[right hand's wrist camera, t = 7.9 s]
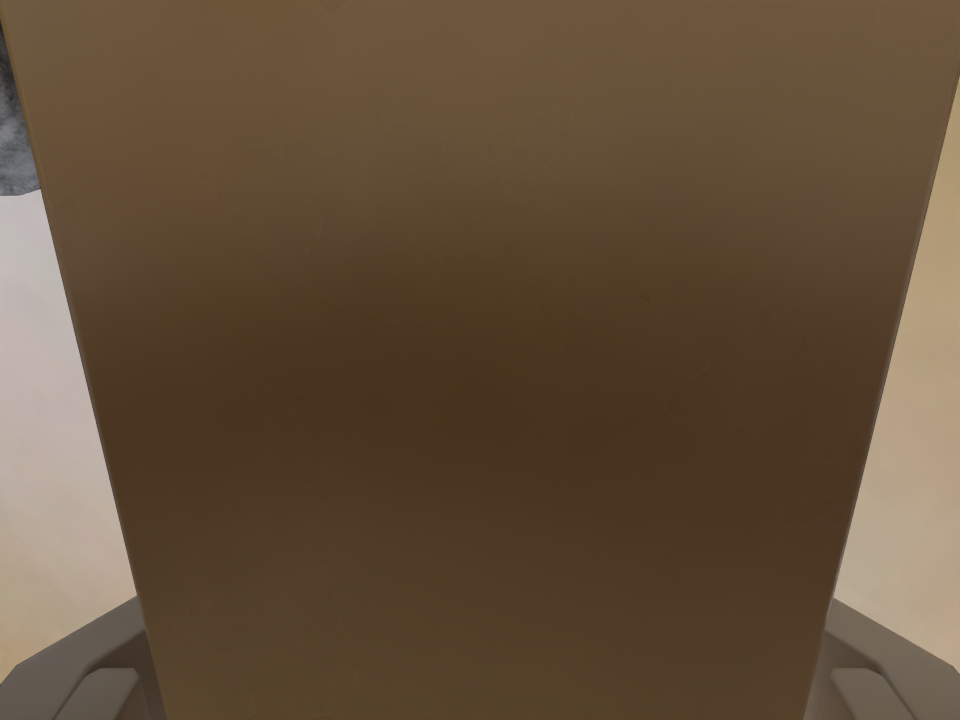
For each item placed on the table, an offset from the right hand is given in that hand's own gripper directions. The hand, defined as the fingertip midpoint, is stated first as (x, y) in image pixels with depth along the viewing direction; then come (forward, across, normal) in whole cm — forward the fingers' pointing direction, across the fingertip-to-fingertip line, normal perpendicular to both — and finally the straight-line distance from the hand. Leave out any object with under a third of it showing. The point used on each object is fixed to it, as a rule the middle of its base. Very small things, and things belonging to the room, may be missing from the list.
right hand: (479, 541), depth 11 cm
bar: (+3, 0, -9) cm, 9 cm away
